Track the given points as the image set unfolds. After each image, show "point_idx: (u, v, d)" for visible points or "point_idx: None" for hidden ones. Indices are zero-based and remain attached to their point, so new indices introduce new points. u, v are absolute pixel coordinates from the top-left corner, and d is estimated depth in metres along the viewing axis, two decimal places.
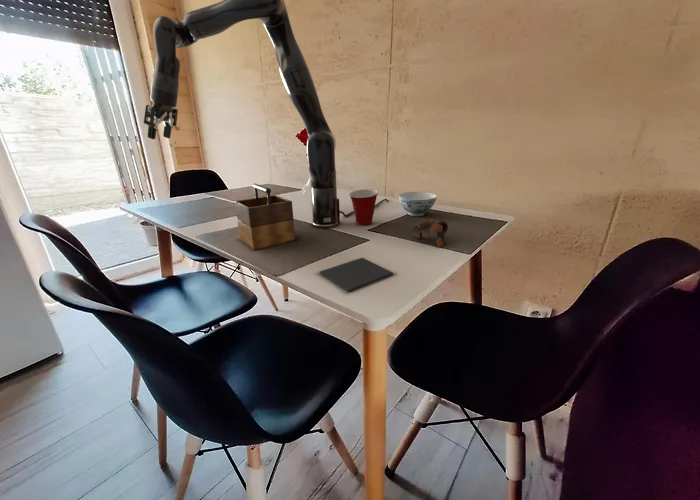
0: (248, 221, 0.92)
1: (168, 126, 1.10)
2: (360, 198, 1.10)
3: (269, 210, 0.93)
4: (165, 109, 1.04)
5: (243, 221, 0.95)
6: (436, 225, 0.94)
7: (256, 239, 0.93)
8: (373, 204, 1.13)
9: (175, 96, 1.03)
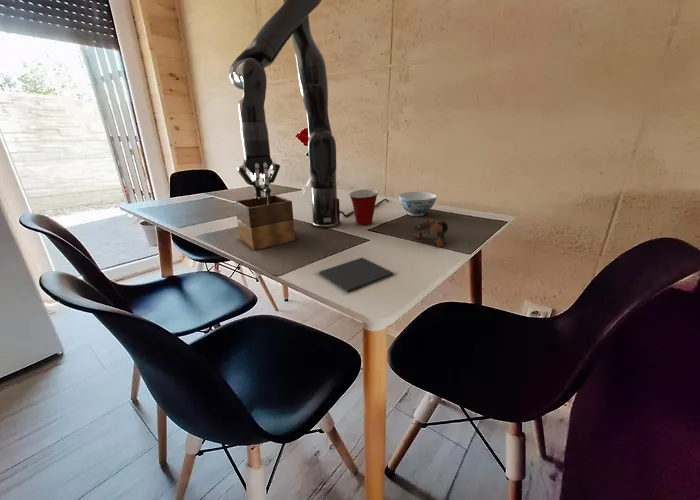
0: (248, 221, 0.92)
1: (264, 184, 0.96)
2: (360, 198, 1.10)
3: (269, 210, 0.93)
4: (258, 161, 0.92)
5: (243, 221, 0.95)
6: (436, 225, 0.94)
7: (256, 239, 0.93)
8: (373, 204, 1.13)
9: (260, 143, 0.88)
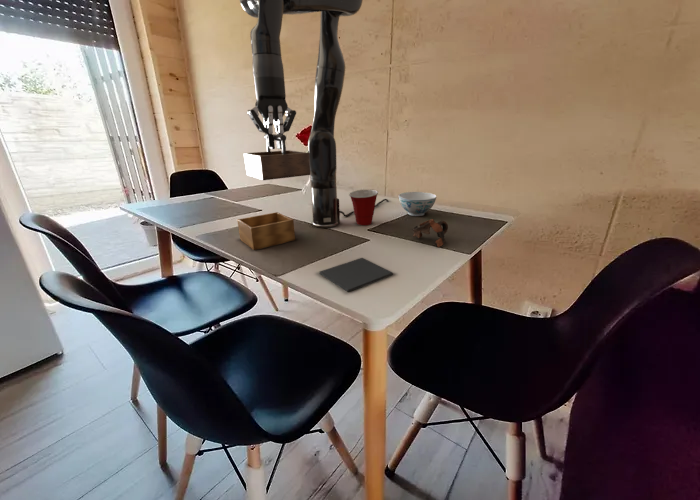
0: (260, 172, 0.80)
1: (278, 132, 0.84)
2: (360, 198, 1.10)
3: (284, 161, 0.82)
4: (272, 103, 0.80)
5: (254, 174, 0.84)
6: (436, 225, 0.94)
7: (256, 239, 0.93)
8: (373, 204, 1.13)
9: (274, 80, 0.76)
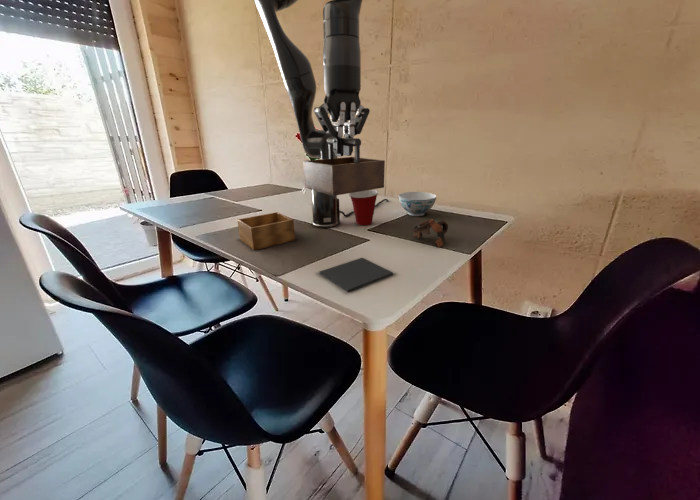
0: (329, 186, 0.64)
1: (347, 136, 0.68)
2: (360, 198, 1.10)
3: (357, 171, 0.65)
4: (344, 99, 0.64)
5: (318, 188, 0.68)
6: (436, 225, 0.94)
7: (256, 239, 0.93)
8: (373, 204, 1.13)
9: (352, 69, 0.60)
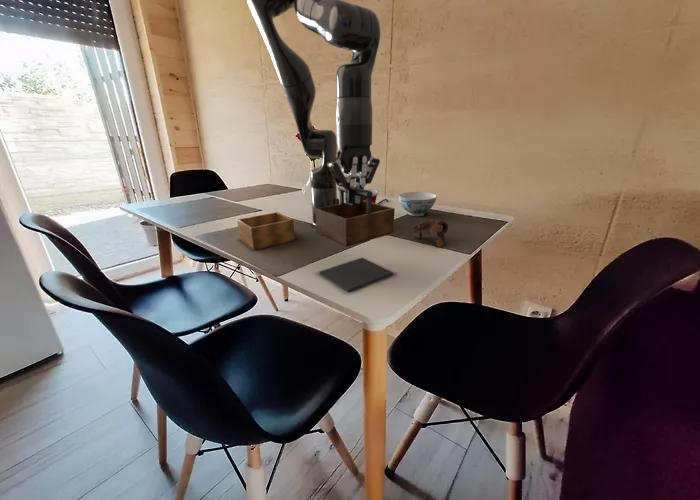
0: (342, 237, 0.66)
1: (358, 185, 0.70)
2: None
3: (369, 221, 0.68)
4: (356, 153, 0.66)
5: (330, 236, 0.70)
6: (436, 225, 0.94)
7: (256, 239, 0.93)
8: None
9: (364, 127, 0.62)
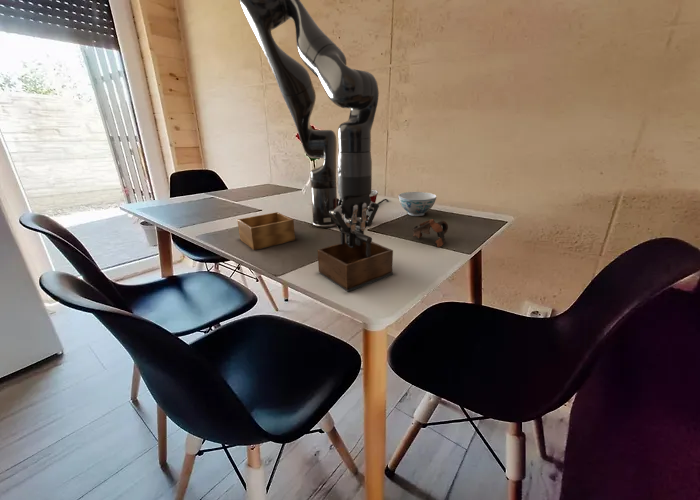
0: (343, 280, 0.70)
1: (358, 229, 0.74)
2: None
3: (368, 265, 0.71)
4: (356, 201, 0.70)
5: (332, 277, 0.74)
6: (436, 225, 0.94)
7: (256, 239, 0.93)
8: None
9: (364, 179, 0.66)
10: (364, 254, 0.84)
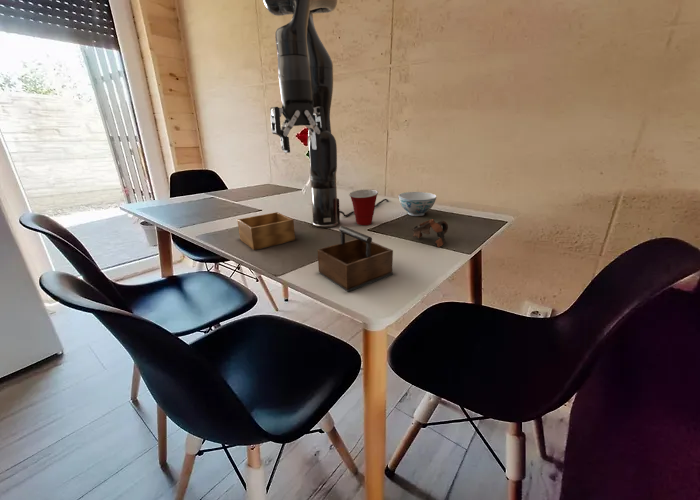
0: (343, 280, 0.70)
1: (314, 133, 0.81)
2: (360, 198, 1.10)
3: (368, 265, 0.71)
4: (298, 108, 0.75)
5: (332, 277, 0.74)
6: (436, 225, 0.94)
7: (256, 239, 0.93)
8: (373, 204, 1.13)
9: (302, 83, 0.72)
10: (364, 254, 0.84)
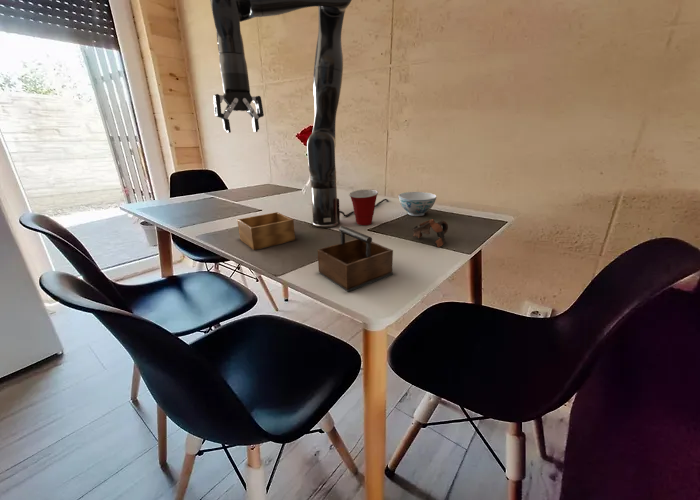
0: (343, 280, 0.70)
1: (253, 118, 0.98)
2: (360, 198, 1.10)
3: (368, 265, 0.71)
4: (237, 96, 0.93)
5: (332, 277, 0.74)
6: (436, 225, 0.94)
7: (256, 239, 0.93)
8: (373, 204, 1.13)
9: (238, 75, 0.89)
10: (364, 254, 0.84)
